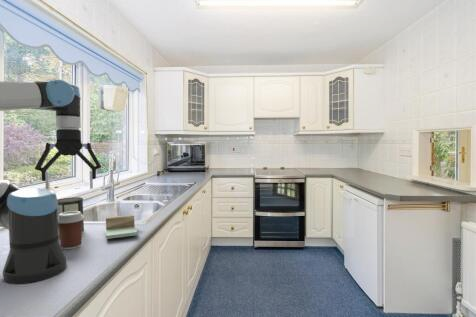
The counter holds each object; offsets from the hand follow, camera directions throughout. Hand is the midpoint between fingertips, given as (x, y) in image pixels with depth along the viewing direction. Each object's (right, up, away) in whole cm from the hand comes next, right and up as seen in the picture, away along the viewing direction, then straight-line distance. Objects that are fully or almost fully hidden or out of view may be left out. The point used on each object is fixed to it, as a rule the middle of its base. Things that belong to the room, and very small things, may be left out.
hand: (70, 189), depth 107 cm
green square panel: (+11, -18, +18) cm, 28 cm away
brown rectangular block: (+10, -19, +20) cm, 29 cm away
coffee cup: (0, -21, +1) cm, 21 cm away
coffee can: (-9, -20, +16) cm, 27 cm away
